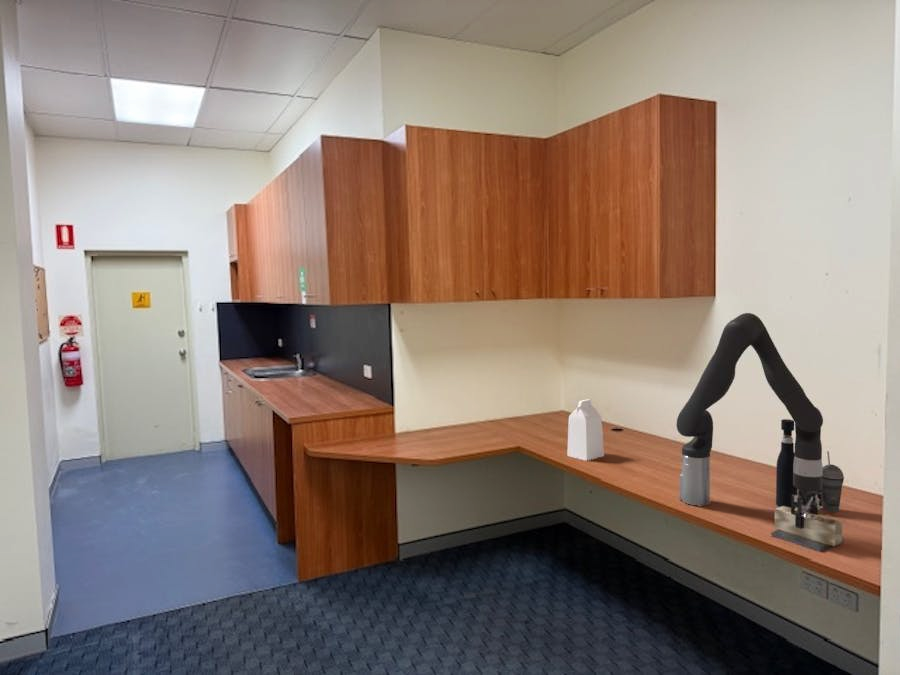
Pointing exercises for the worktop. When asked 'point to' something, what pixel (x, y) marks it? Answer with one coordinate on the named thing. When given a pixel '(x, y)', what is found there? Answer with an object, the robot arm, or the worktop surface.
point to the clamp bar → (810, 526)
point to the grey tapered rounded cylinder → (831, 487)
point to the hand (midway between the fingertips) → (806, 524)
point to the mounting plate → (801, 539)
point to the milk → (585, 432)
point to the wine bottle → (785, 466)
